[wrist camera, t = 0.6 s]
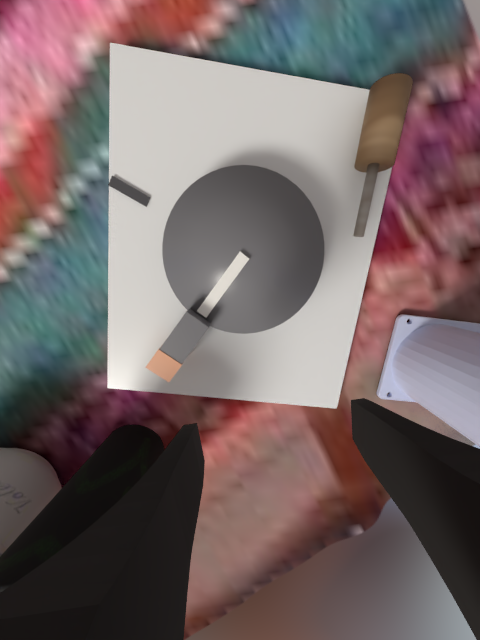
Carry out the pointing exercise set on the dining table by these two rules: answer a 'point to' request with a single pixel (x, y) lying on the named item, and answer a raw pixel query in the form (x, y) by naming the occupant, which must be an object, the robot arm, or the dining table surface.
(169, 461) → the robot arm
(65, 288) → the dining table surface
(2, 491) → the teacup
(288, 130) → the board
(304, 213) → the grey handled disc
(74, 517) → the cup
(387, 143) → the screwdriver
